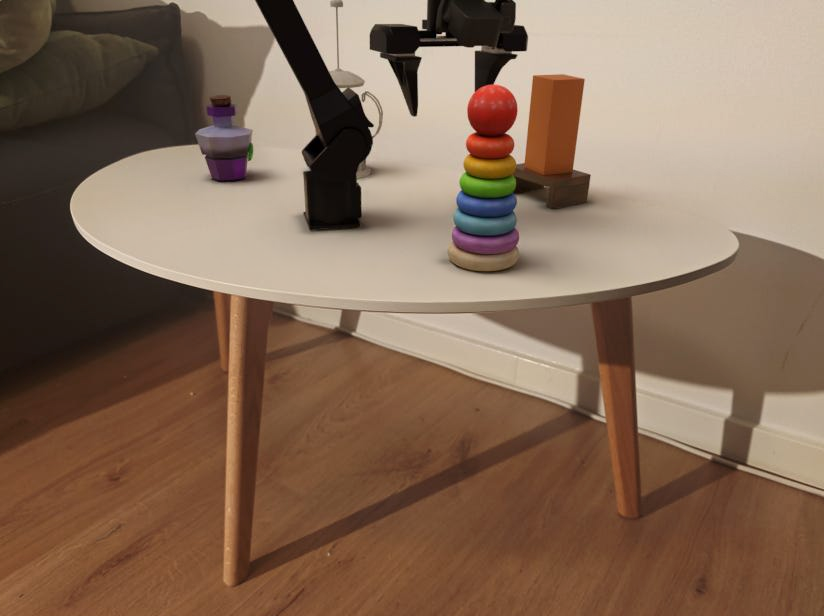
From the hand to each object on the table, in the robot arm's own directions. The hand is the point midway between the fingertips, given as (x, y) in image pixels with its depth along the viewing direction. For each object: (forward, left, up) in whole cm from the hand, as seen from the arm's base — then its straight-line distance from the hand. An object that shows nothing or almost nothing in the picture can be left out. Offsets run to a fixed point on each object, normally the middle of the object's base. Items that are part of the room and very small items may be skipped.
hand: (447, 114), depth 87 cm
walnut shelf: (+17, +6, -13) cm, 23 cm away
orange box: (+17, +6, -9) cm, 20 cm away
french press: (-9, +25, -13) cm, 30 cm away
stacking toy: (-1, -17, -13) cm, 22 cm away
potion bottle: (-27, +25, -13) cm, 39 cm away
